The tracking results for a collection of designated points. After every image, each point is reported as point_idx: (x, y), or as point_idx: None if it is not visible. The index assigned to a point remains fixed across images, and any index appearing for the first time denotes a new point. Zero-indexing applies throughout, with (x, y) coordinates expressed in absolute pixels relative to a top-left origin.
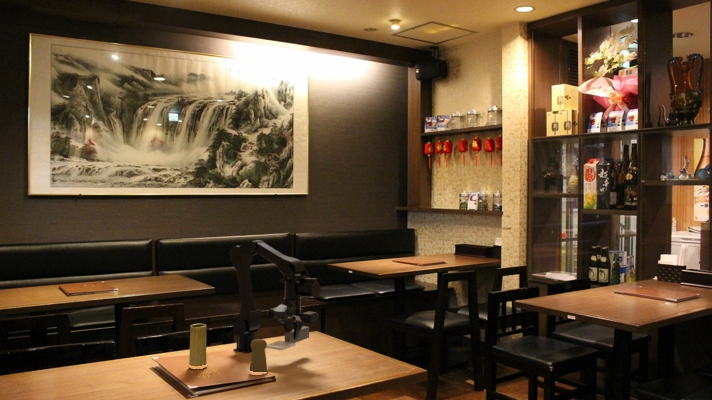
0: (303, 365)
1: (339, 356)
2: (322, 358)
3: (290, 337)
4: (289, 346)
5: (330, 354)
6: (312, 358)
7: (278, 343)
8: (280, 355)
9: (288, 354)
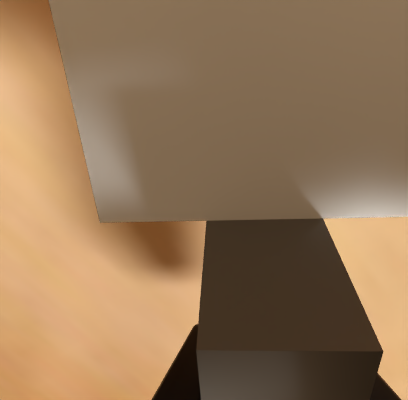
0: (43, 102)
1: (42, 376)
2: (84, 310)
3: (204, 281)
4: (63, 33)
5: (112, 383)
6: (135, 283)
7: (352, 31)
8: (399, 231)
9: (351, 278)
